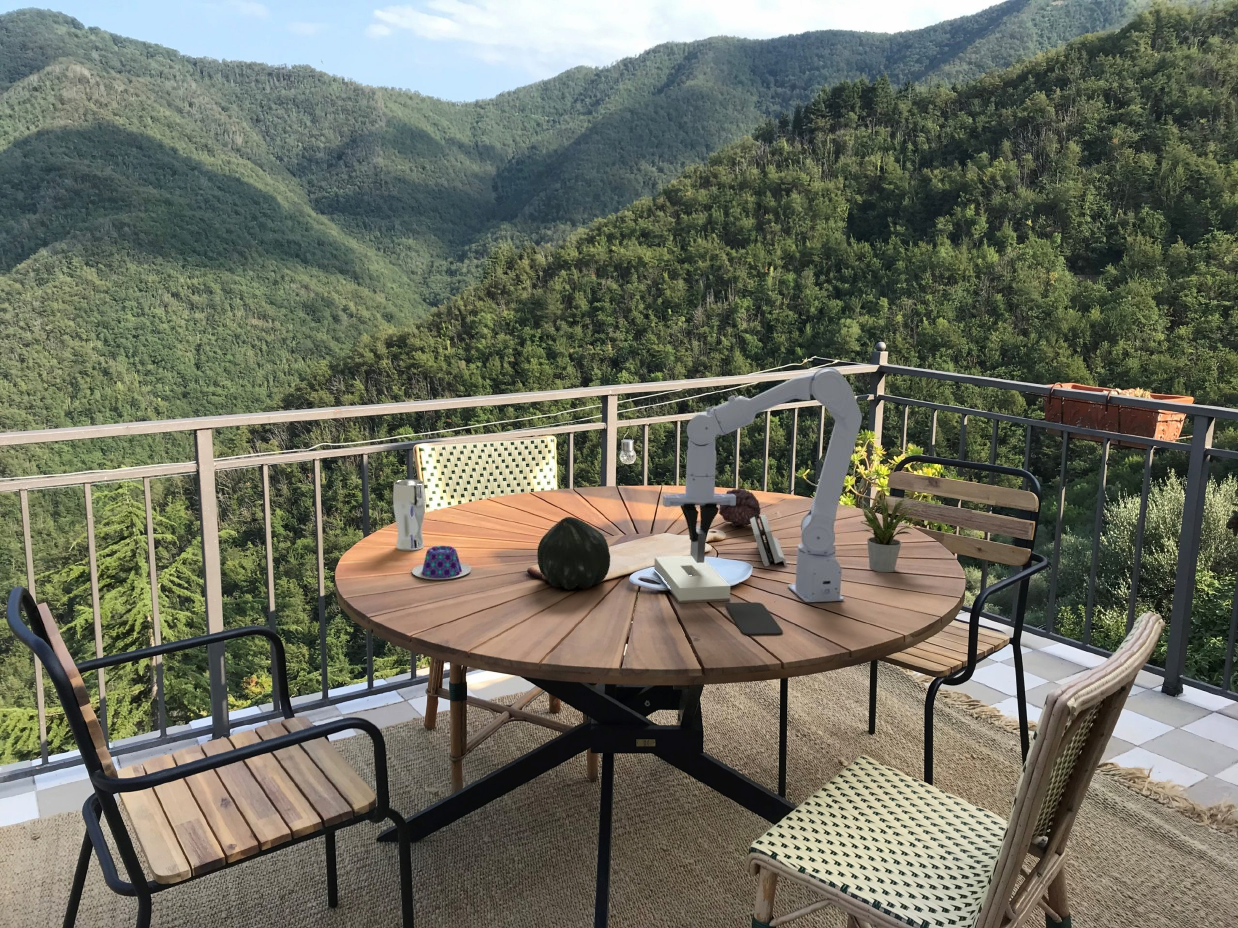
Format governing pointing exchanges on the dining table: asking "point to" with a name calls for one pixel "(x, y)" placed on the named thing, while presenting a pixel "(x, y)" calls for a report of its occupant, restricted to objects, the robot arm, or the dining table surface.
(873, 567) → the house plant
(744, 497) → the pine cone
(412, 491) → the beer glass
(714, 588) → the post foot
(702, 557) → the metal block
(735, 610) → the phone
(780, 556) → the grey and black device
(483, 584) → the dining table surface
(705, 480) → the robot arm
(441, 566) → the pudding
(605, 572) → the squash
